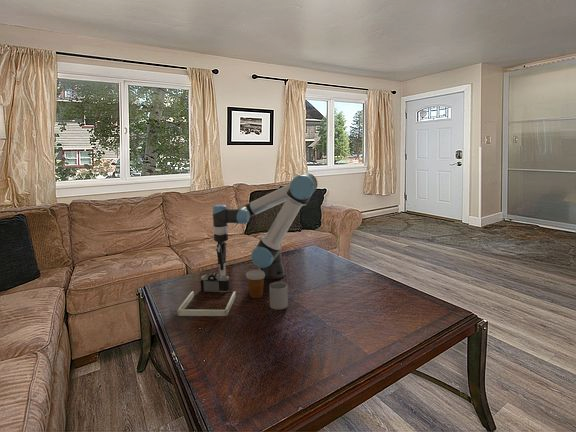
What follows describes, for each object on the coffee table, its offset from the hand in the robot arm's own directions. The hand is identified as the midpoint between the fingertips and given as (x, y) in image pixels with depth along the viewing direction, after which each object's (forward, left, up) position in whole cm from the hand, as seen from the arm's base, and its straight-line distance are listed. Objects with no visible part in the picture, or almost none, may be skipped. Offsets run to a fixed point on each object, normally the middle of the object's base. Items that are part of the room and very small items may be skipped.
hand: (222, 274), depth 194 cm
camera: (+1, +12, -4) cm, 13 cm away
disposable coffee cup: (-21, +20, -4) cm, 29 cm away
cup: (-33, +31, -4) cm, 45 cm away
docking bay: (0, +31, -4) cm, 31 cm away
